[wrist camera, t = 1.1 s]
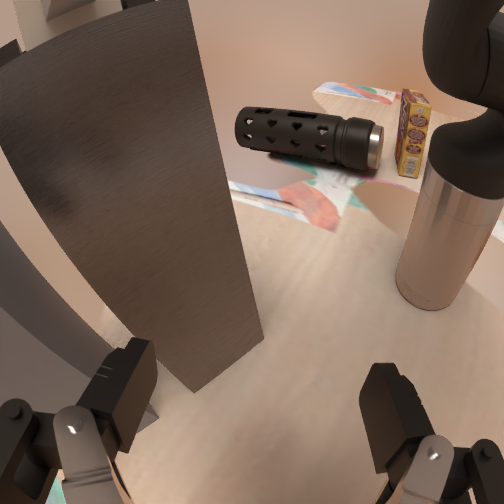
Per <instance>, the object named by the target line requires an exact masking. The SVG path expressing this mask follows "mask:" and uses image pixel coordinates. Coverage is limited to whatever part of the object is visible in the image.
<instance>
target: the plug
mask: <svg viewBox="0 0 504 504" xmlns="http://www.w3.org/2000/svg"><path fill="white" fill-rule="evenodd" d="M13 1H14V6H15V10H16V14H17V19H18V23H19V27H20V31H21V34H22V38H23V42H24V45H25V48H26V52H27V51H29V50H31V49H33V48H34V47H36V46H38V45H40V44H42V43H44V42H46V41H48V40H50V39H52V38H54V37H56V36H58V35H60V34H62V33H65V32H67V31H69V30H71V29H74V28H76V27H78V26H81V25H83V24H86V23H88V22H91V21H93V20H96V19H99V18H101V17H104V16H107V15H110V14H113V13H116V12H119V11H122V10H123V9H122V5H121V1H120V0H13Z"/></svg>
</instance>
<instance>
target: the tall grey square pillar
mask: <svg viewBox="0 0 504 504" xmlns="http://www.w3.org/2000/svg"><path fill="white" fill-rule="evenodd" d="M114 350H115V349H114V348H112V347H111V346H110V345H109V344H108V343H107V342H106V341H105V340H104V339H103V338H102V337H100V336H99V335H98V334H97V333H96V332H95V331H94V330H93V329H92V328H91V327H90V326H89V325H88V324H87V323H86V322H85V321H84V320H83V319H82V318H81V317H80V316H79V315H78V314H77V313H76V312H75V311H74V310H73V309H72V308H71V307H70V306H69V305H68V304H67V303H66V302H65V301H64V299H63V298H62V297H61V296H60V295H59V294H58V293H57V292H56V291H55V290H54V288H53V287H52V286H51V285H50V284H49V283H48V282H47V280H46V279H45V278H44V277H43V276H42V275H41V273H40V272H39V271H38V270H37V269H36V268H35V266H34V265H33V264H32V263H31V261H30V260H29V259H28V258H27V256H26V255H25V254H24V252H23V251H22V250H21V249H20V247H19V246H18V245H17V243H16V242H15V241H14V239H13V238H12V237H11V235H10V234H9V232H8V231H7V230H6V228H5V227H4V225H3V224H2V222H1V221H0V407H1V406H2V404H3V403H5V402H6V401H8V400H10V399H14V398H19V399H23V400H25V401H26V402H28V403H29V405H30V406H31V408H32V410H33V411H36V412H44V413H54V414H57V412H58V411H60V410H61V409H62V408H64V407H67V406H72V405H76V403H77V402H78V400H79V399H80V397H81V395H82V394H83V392H84V391H85V389H86V387H87V386H88V384H89V383H90V381H91V379H92V378H93V376H94V375H96V372H97V370H98V369H99V367H101V364H102V362H103V361H104V359H105V358H106V356H107V355H108V354H109V353H111V352H112V351H114ZM157 419H158V416H157V415H156V413H155V411H154V410H153V408H152V407H151V405H150V404H149V403H148V405H147V407H146V410H145V412H144V415H143V417H142V420H141V422H140V425H139V427H138V430H137V432H136V433H138V432H139V431H141V430H142V429H144V428H145V427H147V426H148V425H150V424H151V423H153V422H154V421H156V420H157Z"/></svg>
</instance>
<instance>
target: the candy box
mask: <svg viewBox="0 0 504 504" xmlns="http://www.w3.org/2000/svg"><path fill="white" fill-rule="evenodd" d="M430 113H431V106H430V104H429V102H428V101H427V100H426V99H425V97H424V96H423V94H422V93H421V92H419V91H415V90H409V89H402V99H401V108H400V117H399V126H398V134H397V141H396V148H395V158H396V163H397V167H398V173H399V175H401V176H406V177H411V178H417V177H418V174H419V169H420V165H421V160H422V156H423V151H424V146H425V141H426V136H427V130H428V125H429V119H430Z"/></svg>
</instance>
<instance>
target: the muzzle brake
mask: <svg viewBox="0 0 504 504" xmlns="http://www.w3.org/2000/svg"><path fill="white" fill-rule="evenodd" d="M248 119H249V120H253V121H252V122H251V123H250V124H248V123H247V120H248ZM246 134H247V135H249V134H250V135H251V136H252V137H251V138H250V137H249V136H247V135H246ZM235 137H236V140H237V142H238V144H239V145H240V146H242V147H247V148H250V149H251V150H257V151H264V152H271V153H277V154H283V155H295V156H298V157H300V158H301V157H302V156H304V157H309V158H314V159H319V160H325V161H328V162H329V164H331V165H336V166H341V167H345V168H346V167H350V168H355V169H359V170H363V171H365V170H368V169H369V168H371V169H375V170H377V169H378V167H379V163H380V159H381V154H382V148H383V141H384V128H383V126H378V125H376V124H375V122H373V121H372V120H367V119H361V118H356V117H352V118H349V119H348V120H344V119H343V118H342V117H340V116H335V115H328V114H321V113H314V112H305V111H296V110H287V109H276V108H275V109H274V108H261V107H245V108H243V109H242V110H241V111H240V112H239V114H238V116H237V118H236V122H235Z"/></svg>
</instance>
